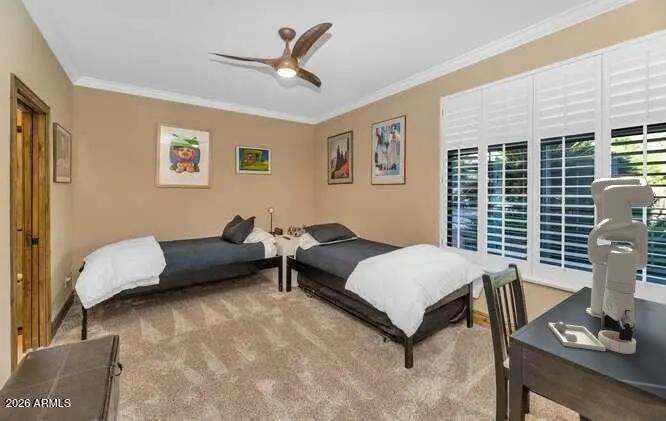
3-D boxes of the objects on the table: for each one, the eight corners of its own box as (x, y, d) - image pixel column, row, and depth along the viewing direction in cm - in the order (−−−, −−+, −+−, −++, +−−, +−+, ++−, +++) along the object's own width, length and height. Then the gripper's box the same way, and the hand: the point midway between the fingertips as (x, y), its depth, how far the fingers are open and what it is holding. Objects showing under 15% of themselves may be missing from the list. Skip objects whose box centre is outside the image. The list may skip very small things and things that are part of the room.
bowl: (593, 339, 114) (593, 328, 114) (625, 343, 111) (625, 332, 111) (606, 352, 105) (607, 341, 105) (642, 357, 102) (642, 345, 102)
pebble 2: (563, 339, 113) (564, 330, 112) (574, 341, 112) (575, 332, 111) (567, 344, 110) (567, 335, 109) (578, 345, 108) (579, 336, 108)
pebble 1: (554, 329, 121) (554, 320, 121) (564, 330, 120) (565, 321, 120) (557, 333, 118) (557, 324, 117) (568, 334, 117) (569, 325, 116)
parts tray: (548, 327, 124) (548, 322, 124) (584, 331, 120) (584, 326, 120) (564, 347, 109) (564, 341, 108) (605, 352, 105) (605, 347, 105)
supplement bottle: (627, 341, 112) (629, 309, 111) (602, 336, 116) (604, 305, 115) (622, 333, 118) (624, 303, 117) (598, 329, 122) (600, 300, 121)
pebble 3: (615, 347, 107) (616, 338, 106) (609, 342, 110) (611, 333, 110) (628, 350, 105) (629, 340, 105) (622, 344, 109) (623, 335, 108)
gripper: (594, 277, 115) (592, 321, 117) (621, 293, 99) (617, 343, 100) (619, 279, 113) (616, 324, 114) (650, 295, 97) (646, 347, 98)
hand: (617, 333), depth 107 cm, fingers open, 9 cm apart
